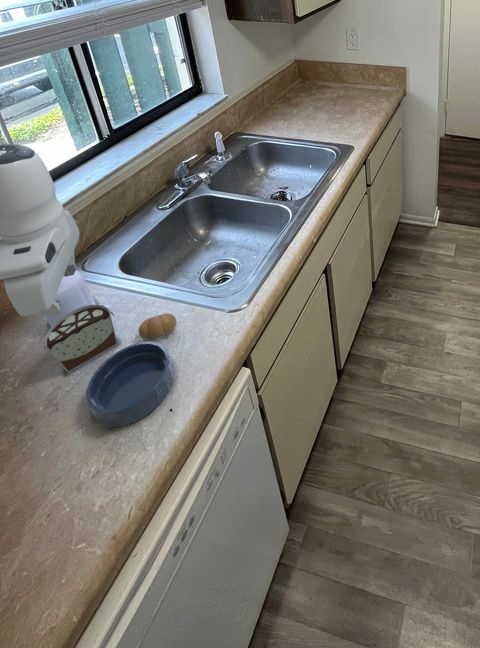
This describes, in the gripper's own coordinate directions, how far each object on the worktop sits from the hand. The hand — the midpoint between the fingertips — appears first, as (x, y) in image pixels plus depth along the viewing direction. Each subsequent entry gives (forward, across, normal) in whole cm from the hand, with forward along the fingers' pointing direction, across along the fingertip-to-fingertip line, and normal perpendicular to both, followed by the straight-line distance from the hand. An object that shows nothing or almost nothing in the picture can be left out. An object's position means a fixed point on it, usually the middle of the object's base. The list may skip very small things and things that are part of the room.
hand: (63, 291), depth 80 cm
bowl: (+25, +5, +7) cm, 26 cm away
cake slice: (+26, -9, -4) cm, 27 cm away
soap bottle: (+26, -21, -10) cm, 35 cm away
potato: (+25, -8, +10) cm, 28 cm away
